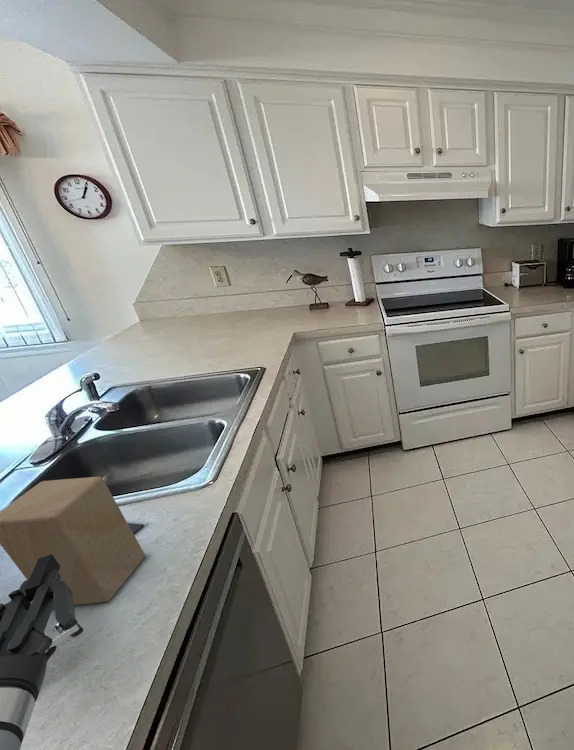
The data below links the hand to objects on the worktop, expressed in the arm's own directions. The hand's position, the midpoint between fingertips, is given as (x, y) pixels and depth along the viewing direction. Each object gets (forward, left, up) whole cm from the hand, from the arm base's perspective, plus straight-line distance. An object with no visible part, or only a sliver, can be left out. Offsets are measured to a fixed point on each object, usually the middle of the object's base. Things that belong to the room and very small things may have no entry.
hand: (49, 562), depth 63 cm
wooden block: (-6, +7, -14) cm, 17 cm away
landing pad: (-14, +16, -14) cm, 25 cm away
